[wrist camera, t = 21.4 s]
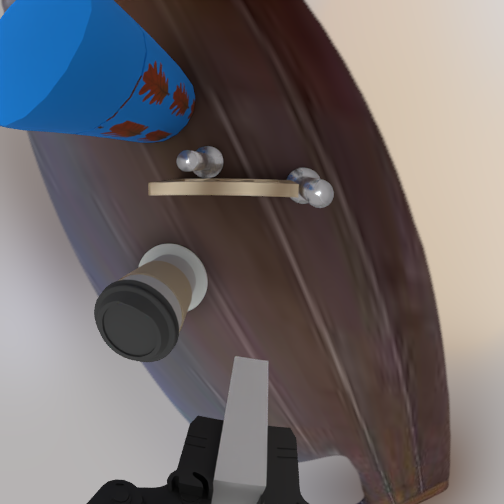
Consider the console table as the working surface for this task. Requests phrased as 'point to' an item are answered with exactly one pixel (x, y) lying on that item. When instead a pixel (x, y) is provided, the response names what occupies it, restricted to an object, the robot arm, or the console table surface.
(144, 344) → the coffee cup
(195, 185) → the gate
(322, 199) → the hinge post
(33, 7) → the thermos
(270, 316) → the console table surface
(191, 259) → the coaster
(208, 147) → the post
